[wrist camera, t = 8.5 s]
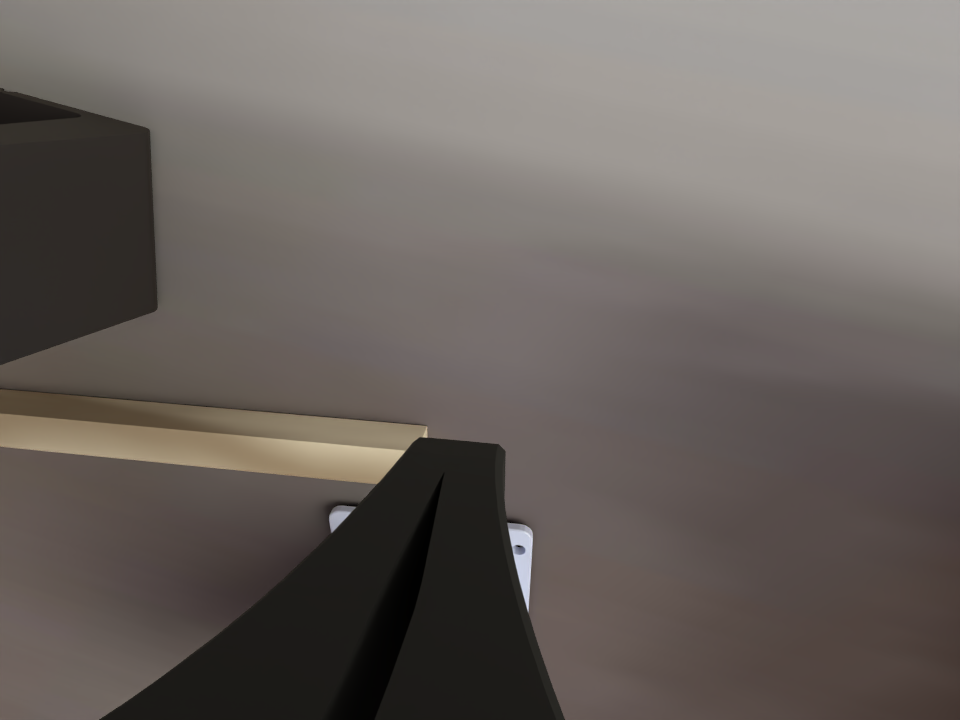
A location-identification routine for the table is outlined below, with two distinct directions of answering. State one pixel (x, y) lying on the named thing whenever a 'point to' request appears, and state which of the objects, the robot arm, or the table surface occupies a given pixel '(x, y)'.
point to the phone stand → (71, 224)
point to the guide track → (204, 436)
